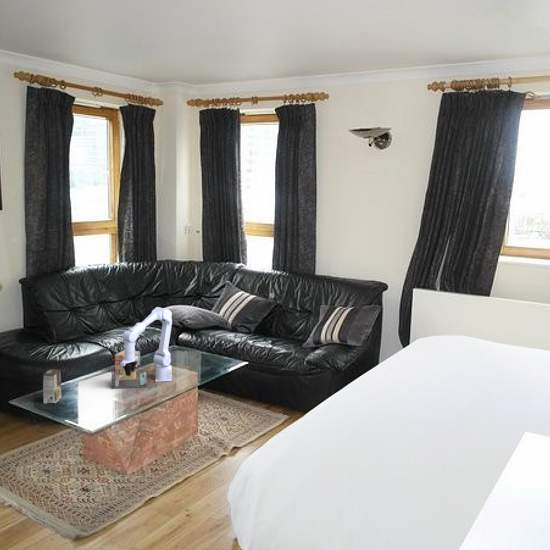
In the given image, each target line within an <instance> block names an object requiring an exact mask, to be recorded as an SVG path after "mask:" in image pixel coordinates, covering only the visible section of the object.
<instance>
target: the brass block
mask: <svg viewBox="0 0 550 550" xmlns="http://www.w3.org/2000/svg"><path fill="white" fill-rule="evenodd" d="M122 380H137V371H136V370H134V371H133V370H131V372H130V376H126V373H125V370H123V374H122Z"/></svg>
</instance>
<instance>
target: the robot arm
mask: <svg viewBox="0 0 550 550" xmlns="http://www.w3.org/2000/svg"><path fill="white" fill-rule="evenodd" d="M172 315H173V313H172V311H171V310H170V309H167V308H163V307H160V306H159V307H158V306H156V307H155V308H154V309H152V310H151V313H150V314H149V315H148V316H147V317H145V319H144V320H142V321H141V322H136V323H135V325H134V326H132V327H131V328H130V329H129V330H126V331H124V332H123V334H122V336H121V338H122V340H123V343H124V350H125V358H124V359H123V362H121V366H123V368H124V370H125V373H126V376H130V372H131V370H133V371H135V369H136V368H135V366H136V364H137V361H135V360H138V356H135V351H136V347H135V346H136V341H137V339H138V337H139V336H140V335H141V334H142V333H144V332H145V330H146V327H147V326H149V325H150V324H152V323H153V322H154V321H157V320H158V321H160V322H161V323H162V324H161V325H162V326H161V331H160V339H159V346H158V349H157V350H156V351H155V354H154V356H153V363H155V378H154V380H155V382H156V383H157V382H159V383H161V382H172V379H173V374H172V373H173V372H172V371H173V370H172V364H171V362H172V358H171V356H172V355H171V352H170V351H169V346H170V345H169V344H170V338H171V333H172V332H171V331H172V325H173V319H172Z"/></svg>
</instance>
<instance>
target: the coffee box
mask: <svg viewBox="0 0 550 550" xmlns="http://www.w3.org/2000/svg"><path fill="white" fill-rule="evenodd" d="M61 371H62V370H61V369H54V368H53V369H51V368H50V369H48V370H47V371H45V372H44V373H43V374H42V387H43V388H42V389H43V393H42V394H43V396H42V397H43V404H47V403H55V404H56V403H57V402H59V399H60V398H61V399H62V372H61ZM61 399H60V400H61Z"/></svg>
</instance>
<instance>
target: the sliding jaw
mask: <svg viewBox="0 0 550 550" xmlns="http://www.w3.org/2000/svg"><path fill="white" fill-rule="evenodd" d="M139 379H140V385H144V384H146V379H147V371H143V373H139Z"/></svg>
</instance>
